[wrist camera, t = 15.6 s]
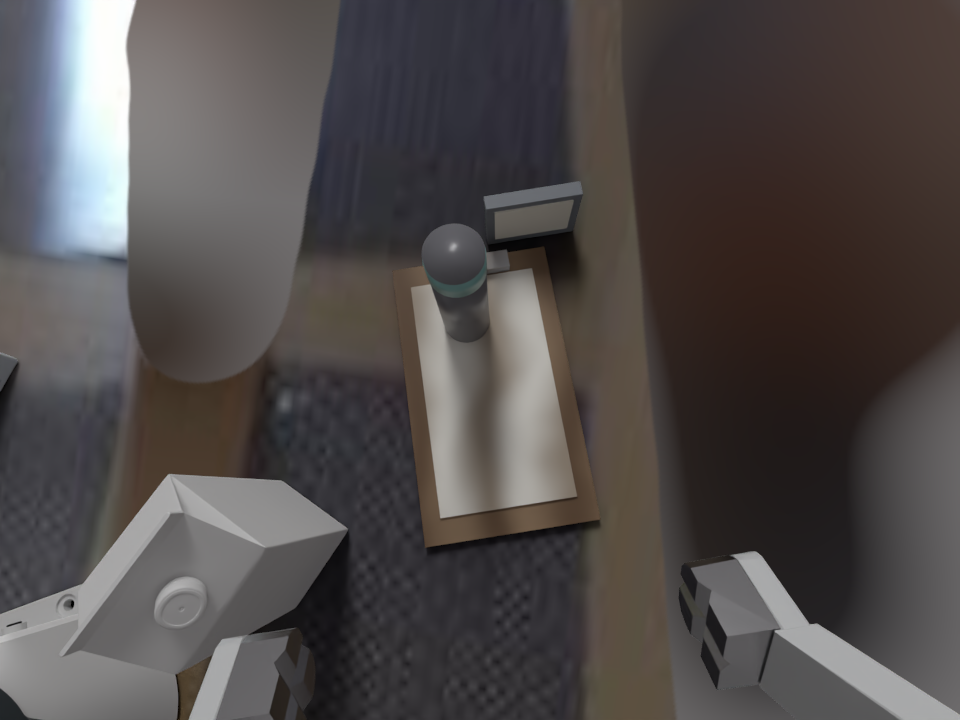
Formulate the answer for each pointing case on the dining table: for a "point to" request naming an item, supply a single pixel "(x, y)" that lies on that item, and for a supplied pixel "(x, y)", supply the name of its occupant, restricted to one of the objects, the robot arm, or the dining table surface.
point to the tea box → (6, 367)
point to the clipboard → (494, 409)
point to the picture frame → (532, 212)
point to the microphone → (458, 280)
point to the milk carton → (202, 570)
